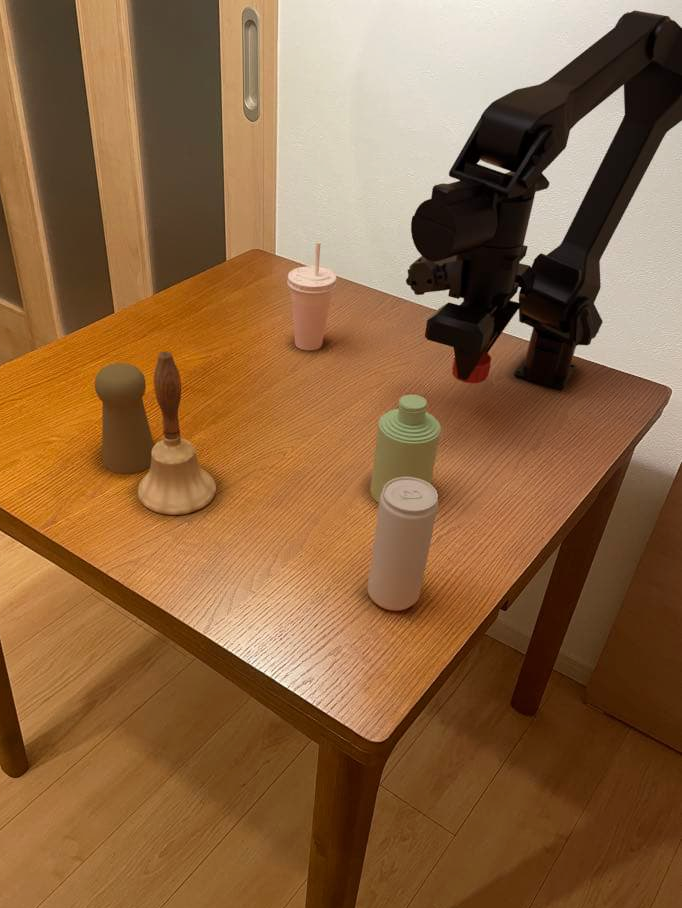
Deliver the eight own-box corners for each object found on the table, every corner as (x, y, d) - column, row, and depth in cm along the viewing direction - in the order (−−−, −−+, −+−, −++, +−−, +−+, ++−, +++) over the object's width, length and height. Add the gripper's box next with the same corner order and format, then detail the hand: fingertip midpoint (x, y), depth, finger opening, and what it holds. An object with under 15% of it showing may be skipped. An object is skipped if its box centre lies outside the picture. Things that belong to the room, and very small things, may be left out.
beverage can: (362, 577, 75) (376, 476, 67) (412, 575, 76) (432, 474, 68) (371, 615, 72) (387, 512, 64) (424, 613, 72) (446, 510, 64)
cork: (165, 448, 90) (158, 361, 83) (141, 478, 86) (131, 389, 79) (117, 437, 92) (106, 351, 84) (91, 466, 87) (77, 378, 80)
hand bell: (121, 496, 84) (102, 360, 73) (172, 458, 89) (161, 326, 78) (182, 526, 80) (172, 388, 70) (231, 485, 86) (229, 350, 75)
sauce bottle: (384, 468, 89) (397, 378, 81) (437, 486, 86) (454, 395, 79) (360, 498, 84) (371, 406, 77) (414, 517, 82) (431, 425, 75)
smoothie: (327, 357, 107) (335, 254, 97) (281, 352, 108) (283, 249, 98) (335, 335, 111) (342, 235, 102) (289, 330, 112) (293, 230, 103)
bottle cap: (473, 362, 96) (477, 345, 94) (494, 379, 93) (498, 361, 92) (445, 369, 95) (448, 352, 93) (465, 386, 92) (468, 368, 90)
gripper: (456, 197, 92) (435, 322, 103) (388, 250, 80) (372, 386, 91) (551, 217, 88) (519, 345, 99) (494, 276, 76) (465, 415, 87)
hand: (469, 370), depth 94 cm, fingers closed on bottle cap, 4 cm apart
